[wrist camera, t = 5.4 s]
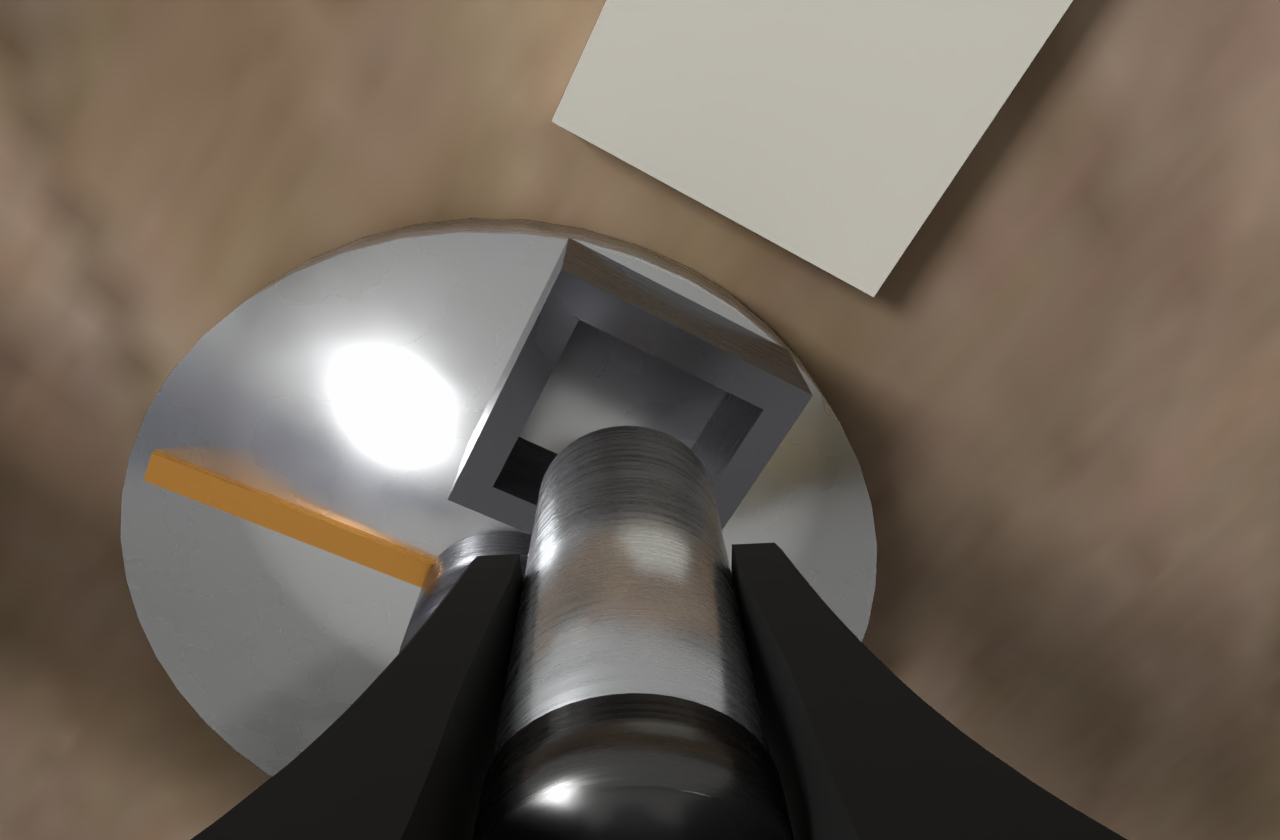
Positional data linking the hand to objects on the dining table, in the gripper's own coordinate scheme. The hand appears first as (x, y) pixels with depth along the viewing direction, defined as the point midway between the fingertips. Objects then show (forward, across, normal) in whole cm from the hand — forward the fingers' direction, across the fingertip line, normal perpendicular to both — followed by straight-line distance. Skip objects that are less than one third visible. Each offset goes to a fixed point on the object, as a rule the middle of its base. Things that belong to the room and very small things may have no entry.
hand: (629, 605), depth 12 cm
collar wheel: (+9, +3, +6) cm, 11 cm away
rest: (+9, -4, -7) cm, 12 cm away
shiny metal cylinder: (+2, 0, 0) cm, 2 cm away
